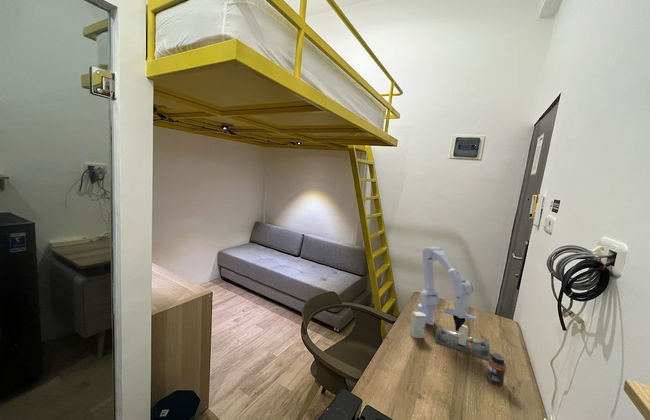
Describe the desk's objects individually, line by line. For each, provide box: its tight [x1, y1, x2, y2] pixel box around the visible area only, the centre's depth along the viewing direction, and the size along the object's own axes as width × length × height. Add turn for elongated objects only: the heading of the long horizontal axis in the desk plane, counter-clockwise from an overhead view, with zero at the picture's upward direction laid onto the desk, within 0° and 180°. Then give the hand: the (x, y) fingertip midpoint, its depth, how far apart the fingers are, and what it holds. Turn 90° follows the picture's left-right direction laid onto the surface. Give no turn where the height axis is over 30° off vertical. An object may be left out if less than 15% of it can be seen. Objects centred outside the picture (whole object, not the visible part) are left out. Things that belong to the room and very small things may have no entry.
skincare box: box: [409, 311, 427, 339], centre depth 127 cm, size 6×4×12 cm
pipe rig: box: [434, 324, 492, 361], centre depth 123 cm, size 24×12×6 cm, turn 64°
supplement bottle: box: [485, 352, 507, 387], centre depth 100 cm, size 6×6×11 cm
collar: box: [458, 324, 469, 346], centre depth 123 cm, size 3×5×8 cm, turn 154°
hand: (456, 329), depth 124 cm, fingers closed
